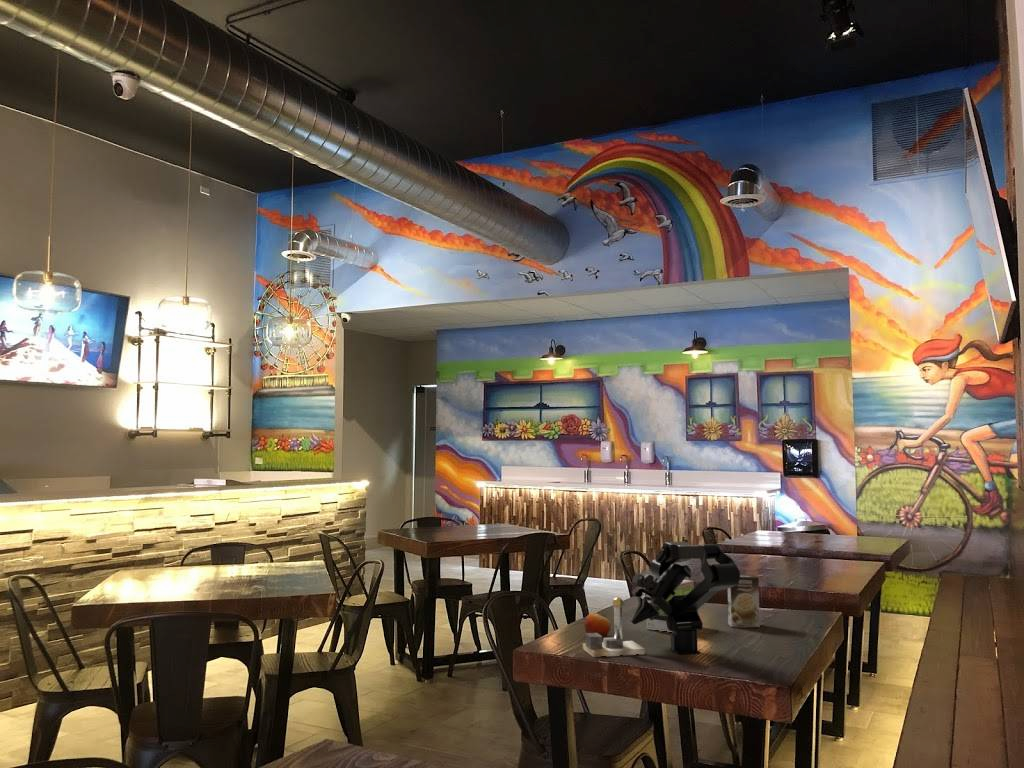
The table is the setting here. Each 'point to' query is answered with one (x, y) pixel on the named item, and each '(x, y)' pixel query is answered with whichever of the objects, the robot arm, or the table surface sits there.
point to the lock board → (610, 646)
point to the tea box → (683, 589)
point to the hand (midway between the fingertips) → (632, 623)
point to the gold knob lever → (616, 621)
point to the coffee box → (744, 602)
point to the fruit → (597, 624)
